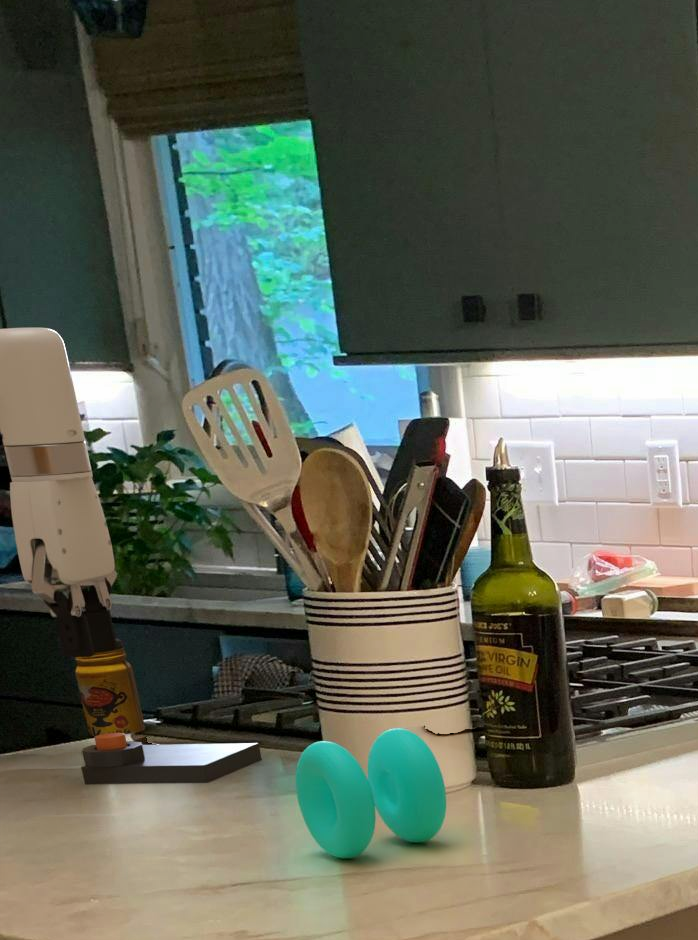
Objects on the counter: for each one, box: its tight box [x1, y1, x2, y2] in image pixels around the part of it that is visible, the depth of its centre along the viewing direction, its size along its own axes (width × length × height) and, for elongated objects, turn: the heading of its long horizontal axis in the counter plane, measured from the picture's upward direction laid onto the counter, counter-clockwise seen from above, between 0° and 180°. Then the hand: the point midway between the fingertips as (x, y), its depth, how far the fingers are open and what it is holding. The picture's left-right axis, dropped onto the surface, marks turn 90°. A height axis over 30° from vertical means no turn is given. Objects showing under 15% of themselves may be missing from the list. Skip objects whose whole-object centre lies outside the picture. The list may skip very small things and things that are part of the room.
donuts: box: [295, 727, 447, 859], centre depth 168 cm, size 10×10×10 cm
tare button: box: [93, 733, 127, 750], centre depth 204 cm, size 3×3×2 cm
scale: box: [80, 740, 262, 785], centre depth 207 cm, size 14×12×4 cm
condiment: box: [74, 638, 158, 745], centre depth 221 cm, size 7×8×12 cm
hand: (90, 651), depth 200 cm, fingers open, 3 cm apart
